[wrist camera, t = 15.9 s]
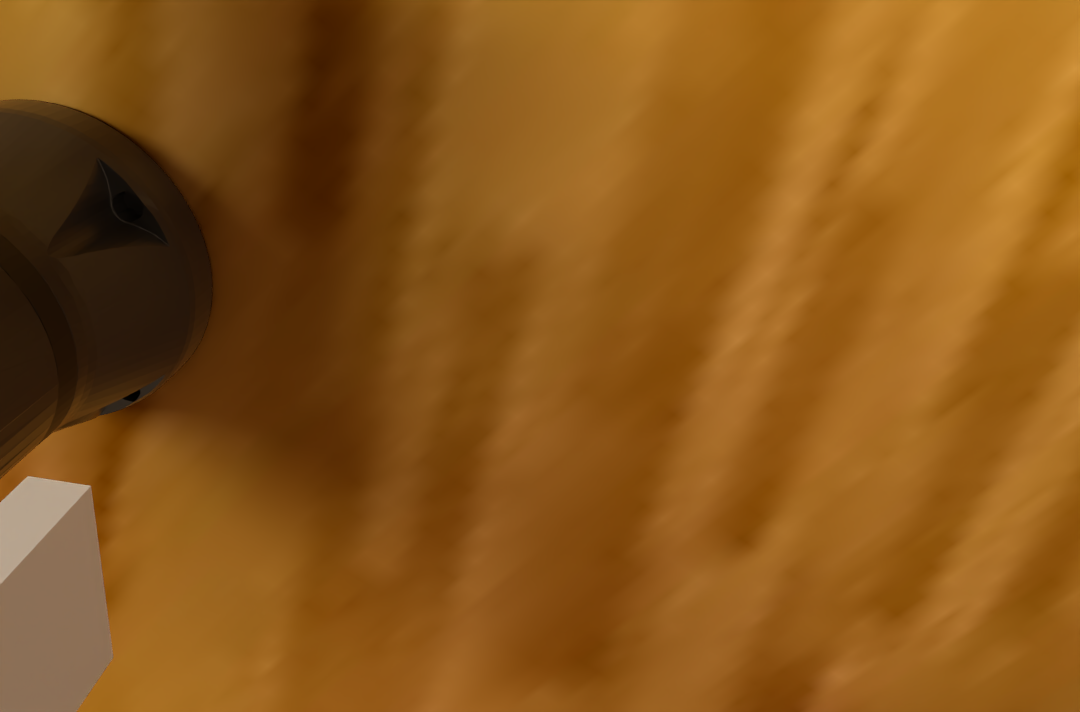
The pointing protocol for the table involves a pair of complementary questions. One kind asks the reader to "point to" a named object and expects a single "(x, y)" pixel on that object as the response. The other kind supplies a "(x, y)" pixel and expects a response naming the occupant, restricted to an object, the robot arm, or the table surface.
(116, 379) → the robot arm
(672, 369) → the table surface
